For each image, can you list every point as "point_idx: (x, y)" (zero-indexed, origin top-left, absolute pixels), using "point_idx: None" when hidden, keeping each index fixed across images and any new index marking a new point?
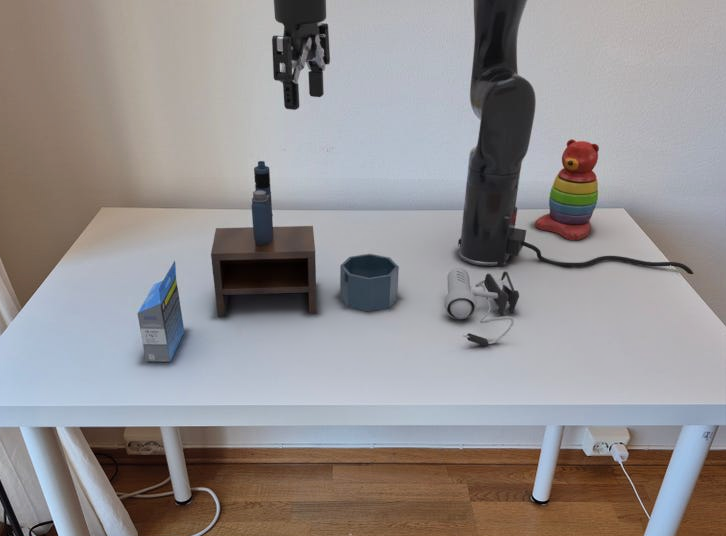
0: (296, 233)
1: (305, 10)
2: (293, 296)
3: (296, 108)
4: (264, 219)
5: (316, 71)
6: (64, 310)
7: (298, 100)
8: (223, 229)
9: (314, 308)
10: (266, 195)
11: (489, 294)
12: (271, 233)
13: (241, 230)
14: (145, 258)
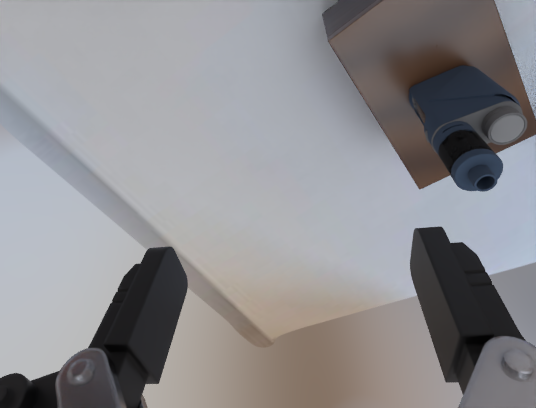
0: (384, 47)
1: None
2: None
3: (442, 228)
4: (498, 84)
5: (132, 364)
6: (512, 243)
7: (438, 252)
8: (421, 176)
9: None
10: (469, 121)
11: None
12: (436, 80)
13: (414, 149)
14: (357, 253)
